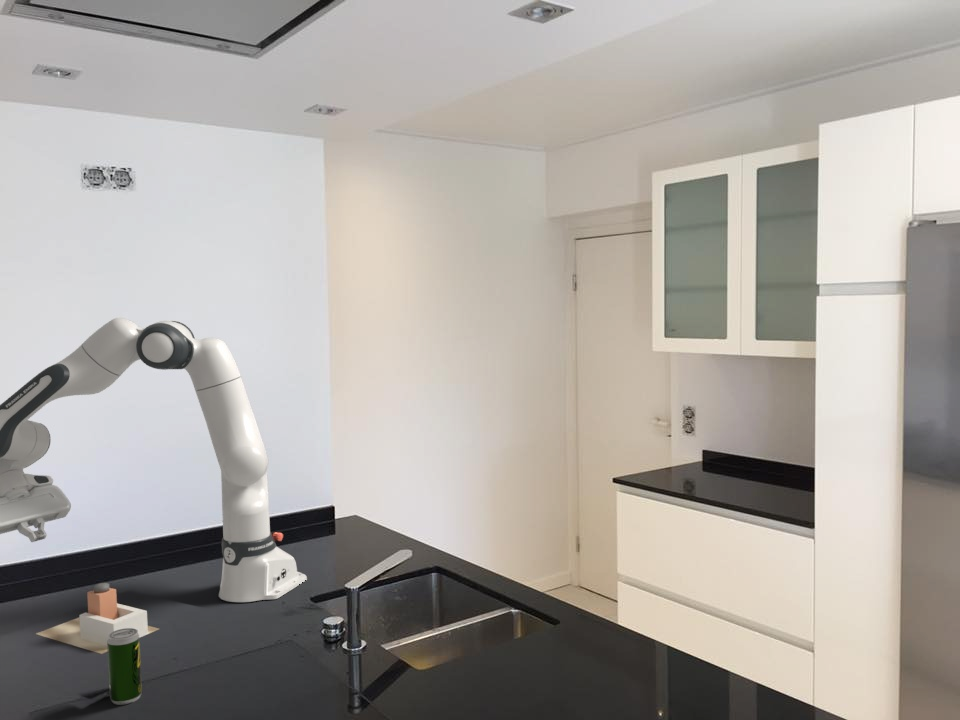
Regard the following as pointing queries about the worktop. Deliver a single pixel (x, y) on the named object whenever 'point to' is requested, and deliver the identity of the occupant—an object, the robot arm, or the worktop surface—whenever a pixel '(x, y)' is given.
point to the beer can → (124, 666)
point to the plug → (103, 601)
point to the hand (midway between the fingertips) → (39, 539)
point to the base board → (76, 636)
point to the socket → (112, 624)
